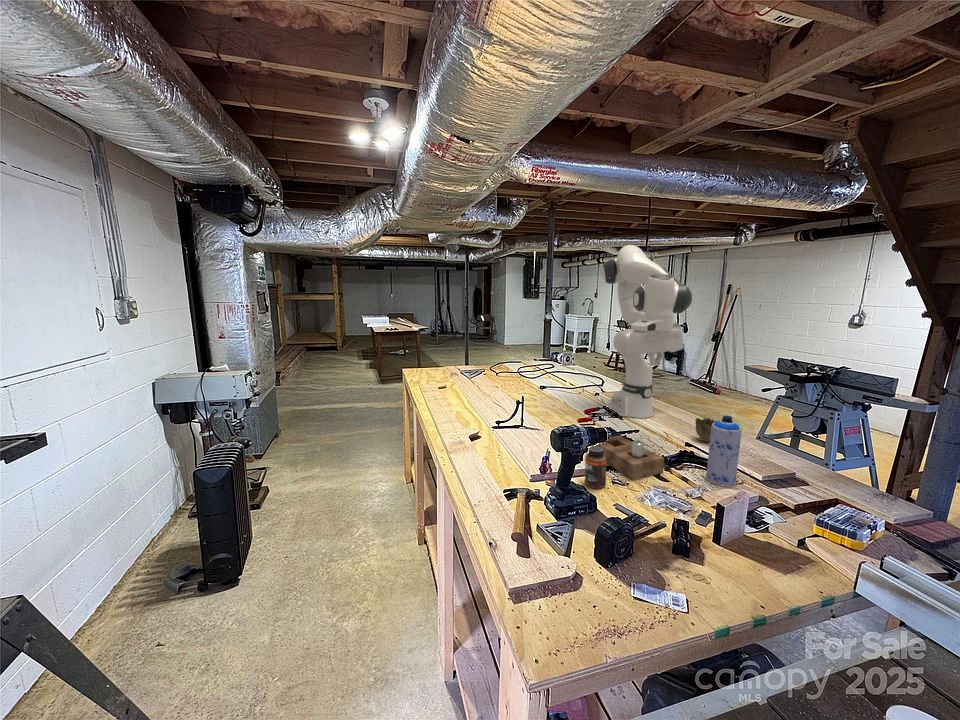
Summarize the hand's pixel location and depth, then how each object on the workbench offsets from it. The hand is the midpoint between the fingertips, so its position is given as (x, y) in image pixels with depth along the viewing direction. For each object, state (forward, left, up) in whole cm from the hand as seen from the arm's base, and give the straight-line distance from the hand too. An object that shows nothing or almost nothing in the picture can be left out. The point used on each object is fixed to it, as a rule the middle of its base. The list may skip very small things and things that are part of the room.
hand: (655, 365), depth 129 cm
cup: (+1, +26, -31) cm, 41 cm away
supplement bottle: (+12, -32, -31) cm, 46 cm away
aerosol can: (+24, +4, -31) cm, 40 cm away
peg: (+9, -14, -31) cm, 35 cm away
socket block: (+4, -14, -31) cm, 34 cm away
